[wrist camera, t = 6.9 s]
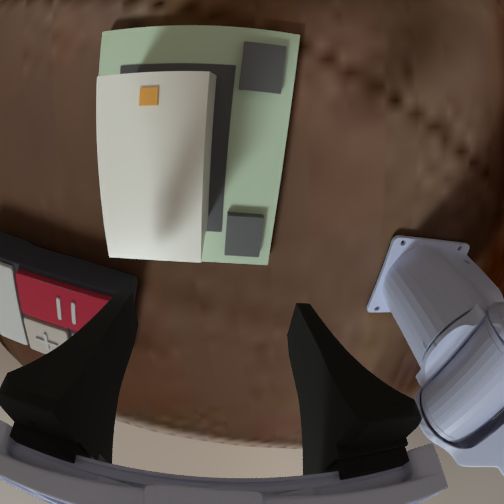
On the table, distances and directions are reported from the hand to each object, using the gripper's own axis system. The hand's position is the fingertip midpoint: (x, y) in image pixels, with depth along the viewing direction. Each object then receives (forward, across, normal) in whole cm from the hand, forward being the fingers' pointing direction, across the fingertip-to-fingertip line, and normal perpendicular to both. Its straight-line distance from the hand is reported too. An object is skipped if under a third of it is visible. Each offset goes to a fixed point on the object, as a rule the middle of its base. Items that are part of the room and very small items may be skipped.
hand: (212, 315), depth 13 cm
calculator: (+10, +15, +9) cm, 20 cm away
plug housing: (+9, +4, -5) cm, 11 cm away
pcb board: (+10, +2, -5) cm, 11 cm away
